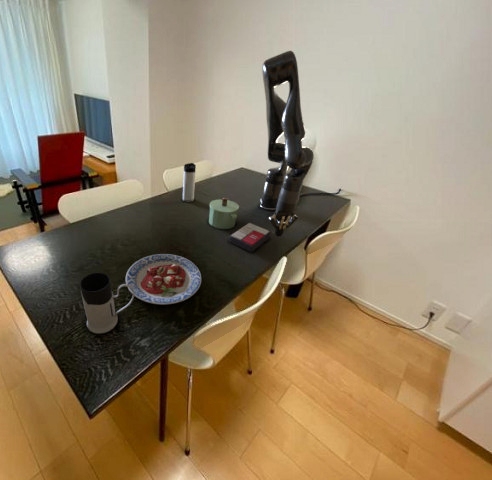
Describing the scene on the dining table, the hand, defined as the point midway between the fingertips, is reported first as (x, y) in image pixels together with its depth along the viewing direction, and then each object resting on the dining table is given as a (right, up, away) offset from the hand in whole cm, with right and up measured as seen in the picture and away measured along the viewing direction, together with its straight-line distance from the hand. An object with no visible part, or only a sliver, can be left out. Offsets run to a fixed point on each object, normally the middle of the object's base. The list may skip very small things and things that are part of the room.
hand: (278, 235), depth 116 cm
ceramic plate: (-49, -16, -24) cm, 57 cm away
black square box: (-13, -2, -1) cm, 13 cm away
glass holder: (-64, -25, -39) cm, 79 cm away
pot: (-23, +7, +12) cm, 26 cm away
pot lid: (-23, +14, +7) cm, 27 cm away
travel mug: (-38, +21, +34) cm, 55 cm away
